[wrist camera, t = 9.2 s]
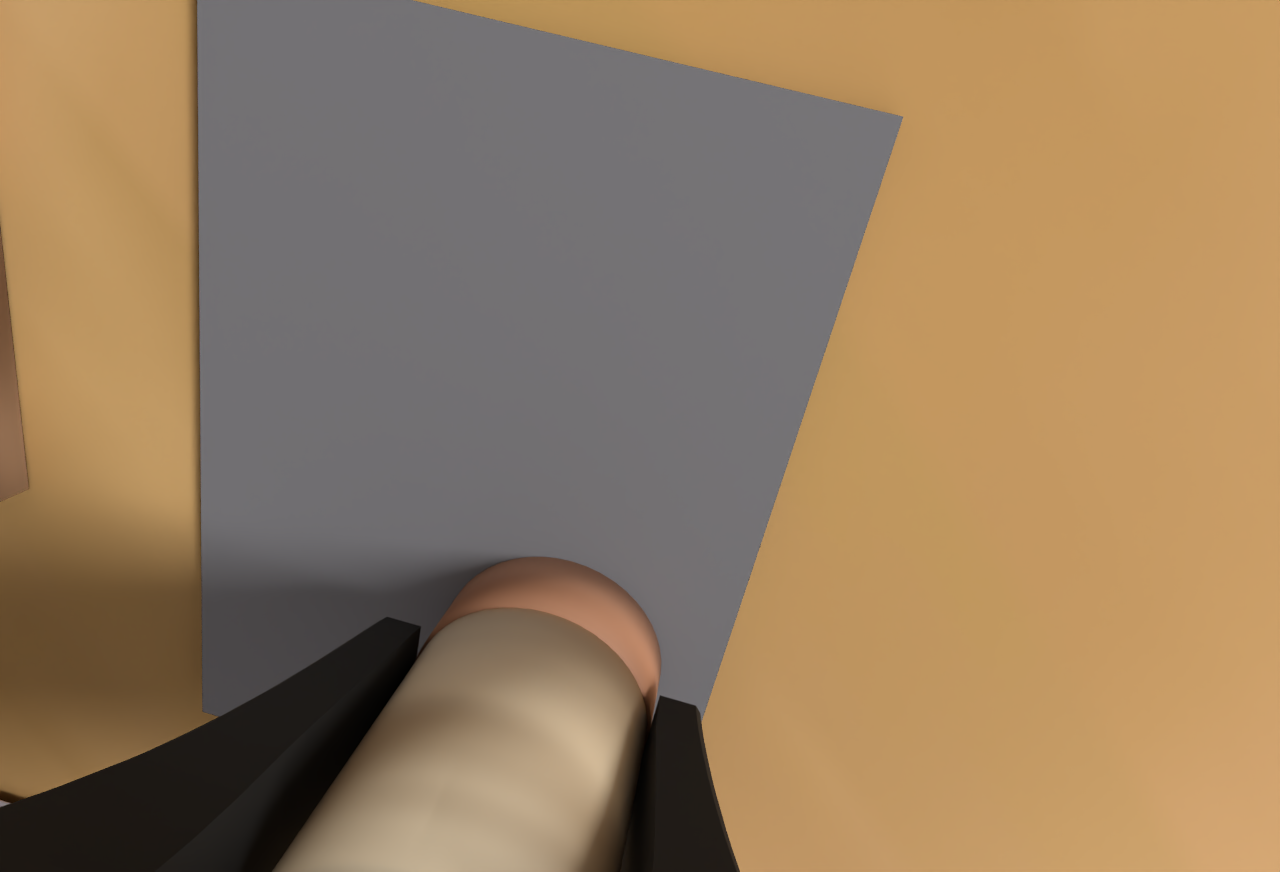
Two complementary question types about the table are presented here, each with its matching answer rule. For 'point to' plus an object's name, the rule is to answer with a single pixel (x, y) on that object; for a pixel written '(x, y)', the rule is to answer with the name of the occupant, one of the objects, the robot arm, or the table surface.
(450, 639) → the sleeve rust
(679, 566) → the mat
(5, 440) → the brown compartment tray
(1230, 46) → the table surface
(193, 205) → the table surface
